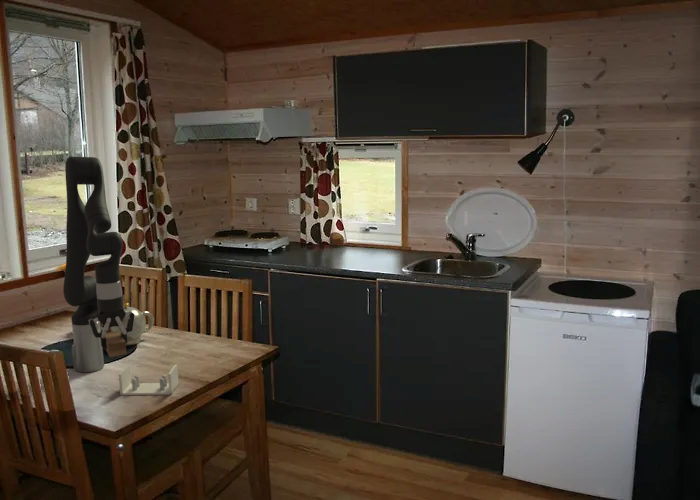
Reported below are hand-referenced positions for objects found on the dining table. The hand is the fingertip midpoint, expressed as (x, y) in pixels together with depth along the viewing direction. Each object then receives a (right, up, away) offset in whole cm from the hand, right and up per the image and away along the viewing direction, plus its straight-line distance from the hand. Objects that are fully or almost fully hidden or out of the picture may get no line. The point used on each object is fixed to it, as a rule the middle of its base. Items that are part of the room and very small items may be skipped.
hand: (114, 346), depth 203 cm
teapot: (-12, -6, +52) cm, 54 cm away
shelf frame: (+10, -15, +5) cm, 18 cm away
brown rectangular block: (0, -1, 0) cm, 1 cm away
